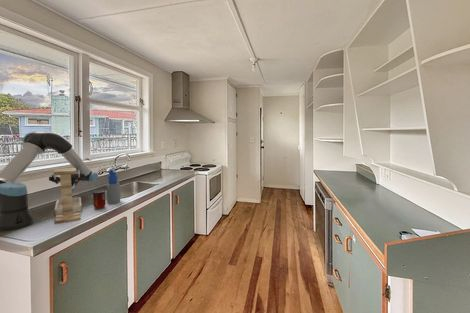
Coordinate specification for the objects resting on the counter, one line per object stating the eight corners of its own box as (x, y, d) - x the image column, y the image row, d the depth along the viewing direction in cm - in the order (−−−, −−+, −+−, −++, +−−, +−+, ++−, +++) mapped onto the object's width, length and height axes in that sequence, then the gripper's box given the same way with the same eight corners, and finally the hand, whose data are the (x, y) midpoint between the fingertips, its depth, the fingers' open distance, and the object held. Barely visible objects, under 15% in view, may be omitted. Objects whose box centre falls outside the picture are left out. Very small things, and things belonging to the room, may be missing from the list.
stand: (56, 217, 138) (53, 169, 136) (80, 213, 145) (77, 167, 142) (54, 224, 127) (51, 172, 124) (80, 220, 134) (77, 170, 131)
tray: (57, 205, 161) (57, 199, 161) (81, 202, 169) (80, 196, 169) (54, 216, 140) (54, 209, 140) (81, 211, 148) (81, 205, 148)
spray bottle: (122, 201, 171) (121, 169, 169) (111, 204, 164) (109, 170, 161) (116, 199, 176) (114, 168, 173) (104, 202, 168) (102, 169, 166)
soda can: (107, 205, 161) (106, 189, 160) (103, 209, 154) (102, 191, 153) (96, 206, 159) (95, 189, 158) (92, 209, 152) (91, 192, 151)
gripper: (88, 186, 174) (89, 176, 159) (46, 190, 160) (42, 180, 144) (87, 177, 177) (88, 166, 161) (46, 180, 163) (42, 169, 147)
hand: (66, 173), depth 153 cm, fingers open, 13 cm apart
